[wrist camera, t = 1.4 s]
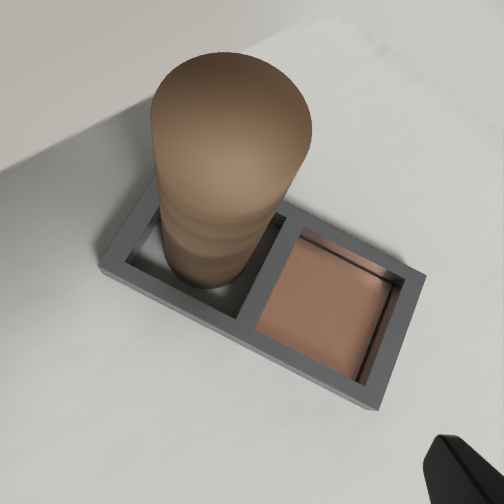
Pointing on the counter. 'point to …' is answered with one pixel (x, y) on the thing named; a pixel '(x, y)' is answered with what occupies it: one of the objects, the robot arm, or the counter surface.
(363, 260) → the grey divided tray
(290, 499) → the counter surface
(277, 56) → the counter surface
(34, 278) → the counter surface
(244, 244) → the post
